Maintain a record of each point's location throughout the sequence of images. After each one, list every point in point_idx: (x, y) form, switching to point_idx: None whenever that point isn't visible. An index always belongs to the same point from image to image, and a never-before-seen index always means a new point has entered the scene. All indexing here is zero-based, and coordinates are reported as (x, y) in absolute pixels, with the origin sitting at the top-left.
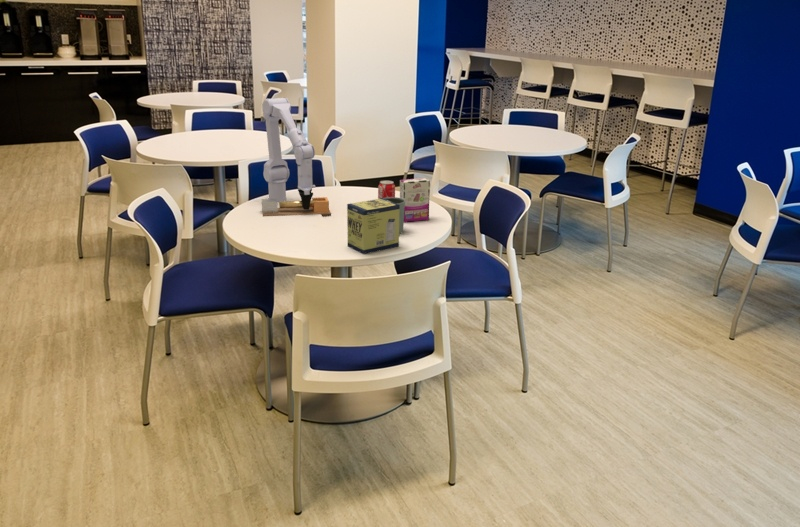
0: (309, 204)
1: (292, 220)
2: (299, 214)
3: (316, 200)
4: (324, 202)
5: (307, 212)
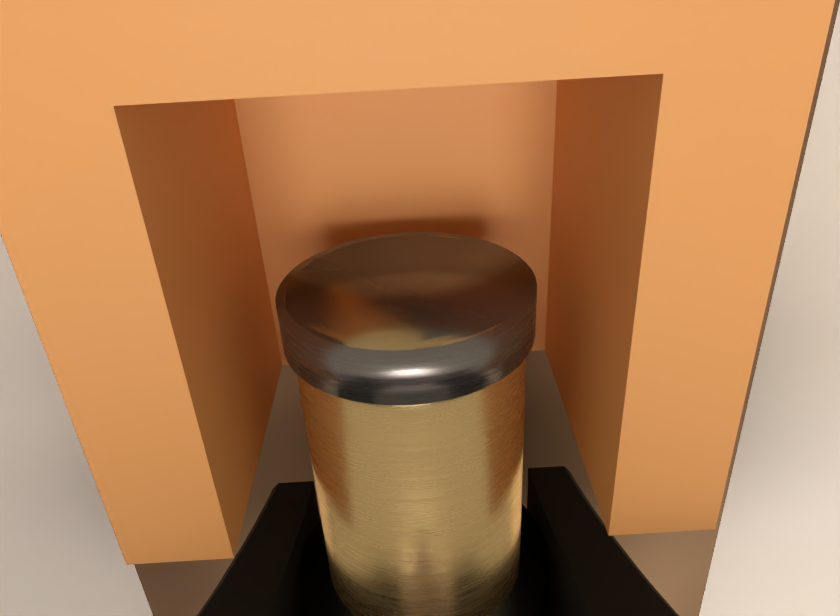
0: (626, 554)
1: (827, 603)
2: (676, 562)
3: (437, 434)
4: (768, 143)
5: (567, 444)
